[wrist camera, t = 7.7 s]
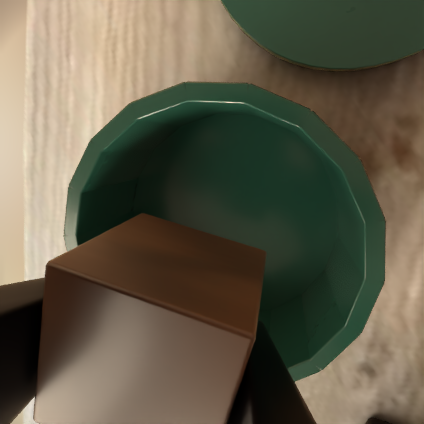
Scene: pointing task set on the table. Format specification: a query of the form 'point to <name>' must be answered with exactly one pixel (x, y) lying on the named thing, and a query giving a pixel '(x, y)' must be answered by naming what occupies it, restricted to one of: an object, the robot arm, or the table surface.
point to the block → (147, 326)
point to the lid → (333, 30)
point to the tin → (247, 202)
